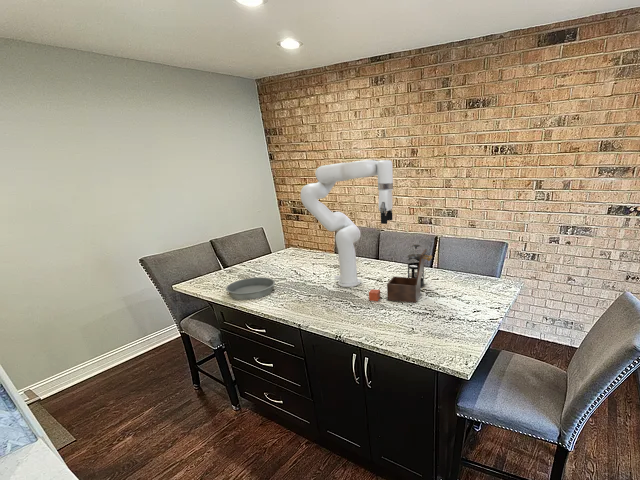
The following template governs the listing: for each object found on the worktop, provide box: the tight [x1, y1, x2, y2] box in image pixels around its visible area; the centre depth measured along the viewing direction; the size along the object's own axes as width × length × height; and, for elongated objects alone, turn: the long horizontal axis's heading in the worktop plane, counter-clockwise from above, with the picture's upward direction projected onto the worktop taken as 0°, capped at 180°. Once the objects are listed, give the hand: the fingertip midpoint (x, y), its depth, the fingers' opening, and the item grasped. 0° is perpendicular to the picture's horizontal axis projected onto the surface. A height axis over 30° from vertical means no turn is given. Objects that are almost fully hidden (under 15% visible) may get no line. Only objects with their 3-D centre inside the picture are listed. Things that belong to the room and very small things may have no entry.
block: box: [368, 288, 381, 302], centre depth 171 cm, size 4×4×4 cm
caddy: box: [386, 276, 422, 304], centre depth 172 cm, size 15×12×9 cm
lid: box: [415, 248, 433, 285], centre depth 164 cm, size 15×12×5 cm
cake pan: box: [225, 276, 276, 301], centre depth 183 cm, size 25×25×4 cm
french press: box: [407, 244, 425, 288], centre depth 185 cm, size 12×9×23 cm
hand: (386, 222), depth 173 cm, fingers open, 9 cm apart
